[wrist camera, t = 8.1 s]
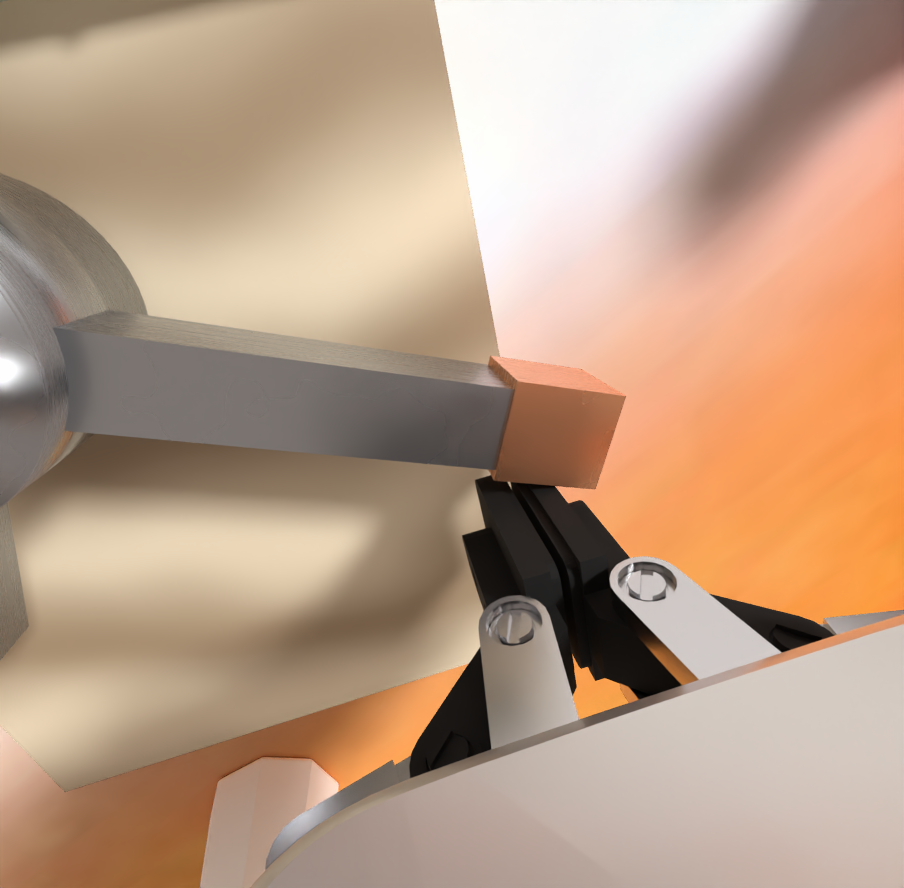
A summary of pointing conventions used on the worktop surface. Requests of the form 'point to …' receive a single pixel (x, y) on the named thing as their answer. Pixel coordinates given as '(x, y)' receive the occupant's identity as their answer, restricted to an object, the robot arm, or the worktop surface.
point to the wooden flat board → (252, 308)
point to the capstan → (245, 383)
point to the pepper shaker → (258, 815)
